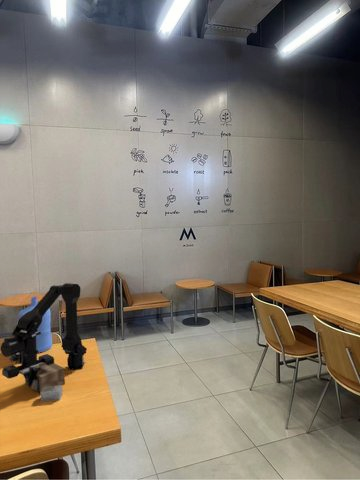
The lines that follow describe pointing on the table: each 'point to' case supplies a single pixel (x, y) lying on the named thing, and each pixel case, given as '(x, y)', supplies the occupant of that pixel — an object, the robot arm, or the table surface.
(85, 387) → the table surface
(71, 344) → the robot arm
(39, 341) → the water jug
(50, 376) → the socket block
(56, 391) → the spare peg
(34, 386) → the peg
